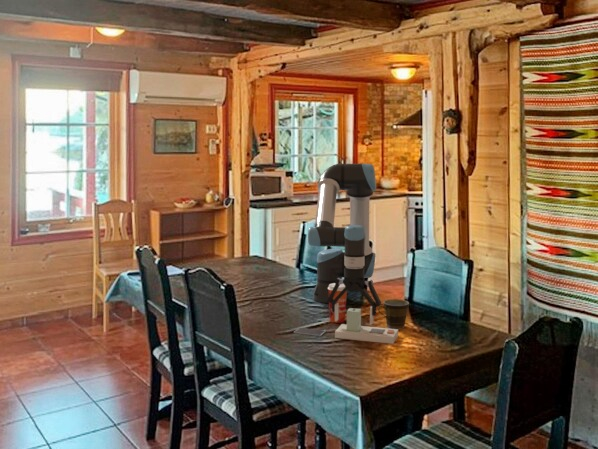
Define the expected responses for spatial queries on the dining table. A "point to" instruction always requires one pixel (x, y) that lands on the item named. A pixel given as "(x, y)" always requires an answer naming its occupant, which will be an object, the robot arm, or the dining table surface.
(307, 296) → the dining table surface
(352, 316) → the block
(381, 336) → the power strip
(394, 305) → the ceramic cup
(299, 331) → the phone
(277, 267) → the dining table surface
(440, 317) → the dining table surface
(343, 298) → the coffee cup
